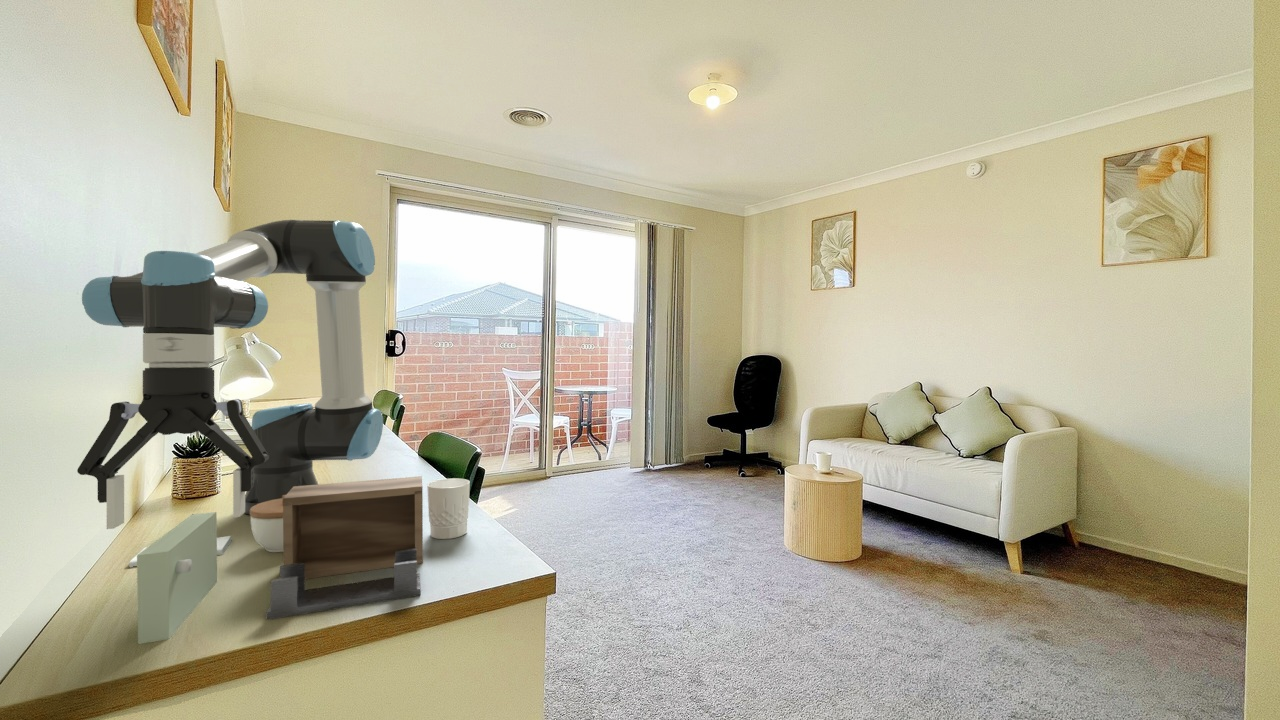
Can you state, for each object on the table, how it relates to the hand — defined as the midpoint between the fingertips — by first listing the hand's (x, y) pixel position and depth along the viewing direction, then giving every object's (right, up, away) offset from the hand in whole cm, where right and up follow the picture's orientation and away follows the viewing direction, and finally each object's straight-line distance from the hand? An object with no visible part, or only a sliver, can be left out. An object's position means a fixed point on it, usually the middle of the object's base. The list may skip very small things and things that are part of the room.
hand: (179, 520), depth 75 cm
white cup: (+26, -12, +32) cm, 43 cm away
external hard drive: (-17, -13, +21) cm, 30 cm away
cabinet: (+16, -12, +17) cm, 26 cm away
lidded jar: (-2, -12, +25) cm, 28 cm away
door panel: (0, -13, 0) cm, 13 cm away
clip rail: (+21, -12, +4) cm, 25 cm away
